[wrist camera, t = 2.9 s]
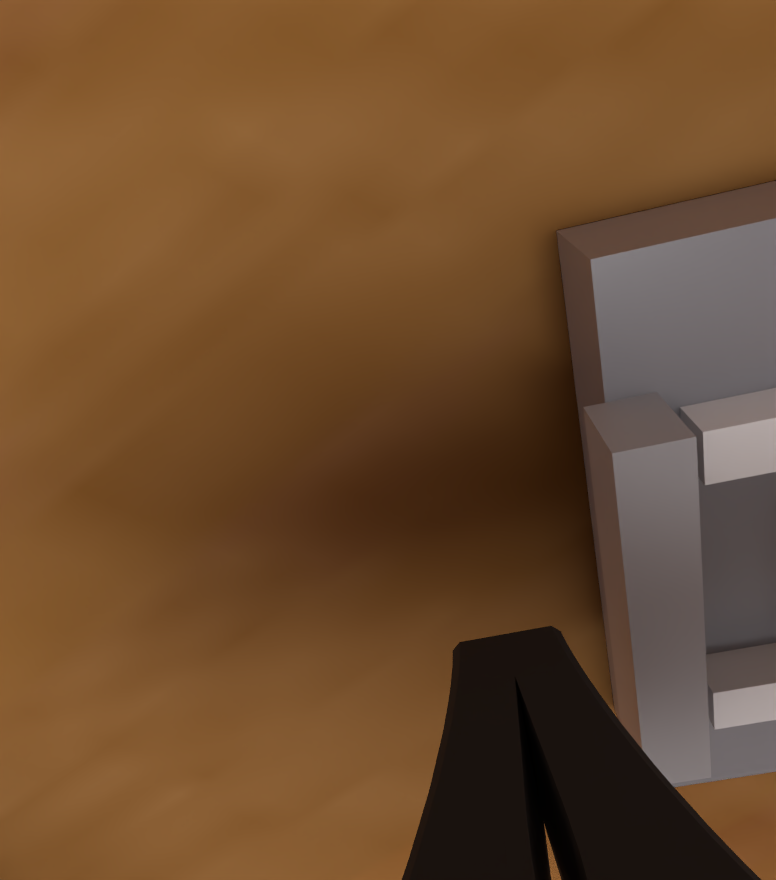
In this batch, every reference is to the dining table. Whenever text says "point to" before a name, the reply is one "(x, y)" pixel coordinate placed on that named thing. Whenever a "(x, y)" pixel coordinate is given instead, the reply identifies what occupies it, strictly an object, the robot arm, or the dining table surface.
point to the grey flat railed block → (683, 471)
